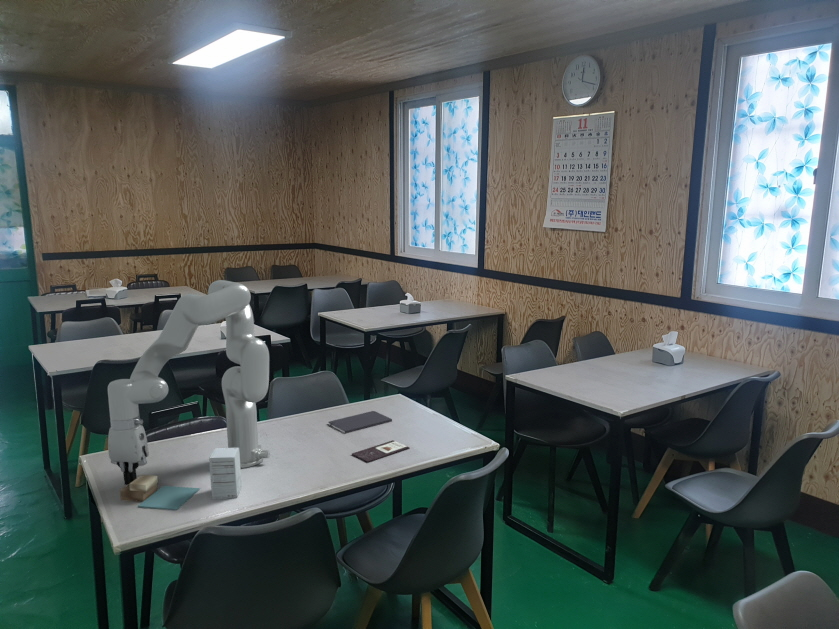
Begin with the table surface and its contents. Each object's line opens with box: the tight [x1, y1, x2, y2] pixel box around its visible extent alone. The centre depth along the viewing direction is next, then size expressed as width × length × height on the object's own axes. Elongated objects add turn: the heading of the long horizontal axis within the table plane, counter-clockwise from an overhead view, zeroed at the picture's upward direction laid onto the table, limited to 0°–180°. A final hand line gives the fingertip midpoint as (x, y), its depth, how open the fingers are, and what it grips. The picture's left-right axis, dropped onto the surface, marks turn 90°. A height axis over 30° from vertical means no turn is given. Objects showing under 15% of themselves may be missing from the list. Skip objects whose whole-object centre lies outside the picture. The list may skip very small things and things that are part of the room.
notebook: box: [328, 410, 393, 434], centre depth 244 cm, size 13×2×21 cm
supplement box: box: [208, 447, 243, 500], centre depth 185 cm, size 7×7×13 cm
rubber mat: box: [137, 485, 201, 511], centre depth 183 cm, size 12×13×1 cm
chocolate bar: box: [351, 440, 410, 464], centre depth 216 cm, size 9×1×18 cm
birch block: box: [129, 474, 159, 492], centre depth 183 cm, size 5×6×2 cm
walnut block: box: [119, 483, 158, 503], centre depth 184 cm, size 7×7×3 cm
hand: (130, 483), depth 184 cm, fingers closed
